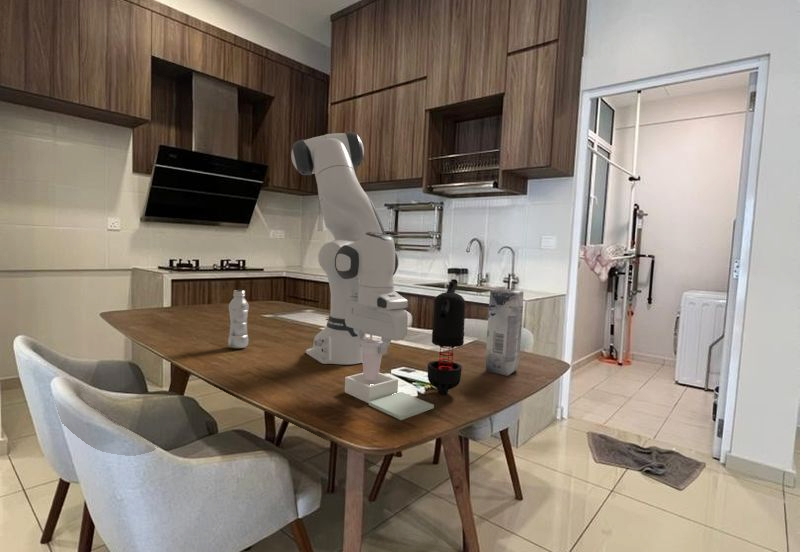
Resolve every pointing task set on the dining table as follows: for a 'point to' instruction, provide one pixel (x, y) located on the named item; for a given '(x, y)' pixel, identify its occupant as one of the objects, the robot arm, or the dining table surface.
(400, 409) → the coaster
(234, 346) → the plastic bottle
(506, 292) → the juice carton
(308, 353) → the robot arm
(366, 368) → the smoothie
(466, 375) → the dining table surface
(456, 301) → the filter
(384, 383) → the shallow white tray
